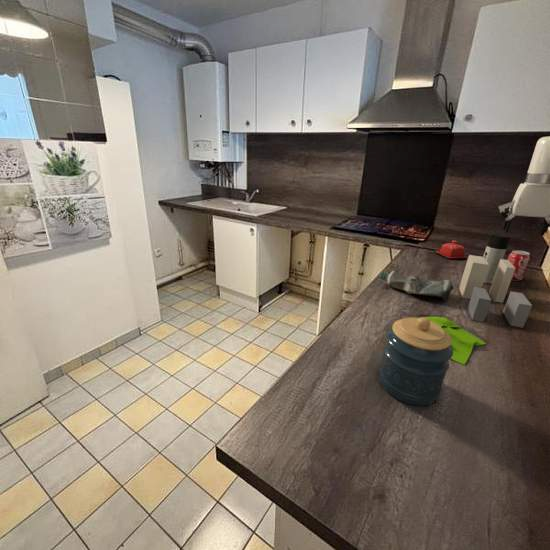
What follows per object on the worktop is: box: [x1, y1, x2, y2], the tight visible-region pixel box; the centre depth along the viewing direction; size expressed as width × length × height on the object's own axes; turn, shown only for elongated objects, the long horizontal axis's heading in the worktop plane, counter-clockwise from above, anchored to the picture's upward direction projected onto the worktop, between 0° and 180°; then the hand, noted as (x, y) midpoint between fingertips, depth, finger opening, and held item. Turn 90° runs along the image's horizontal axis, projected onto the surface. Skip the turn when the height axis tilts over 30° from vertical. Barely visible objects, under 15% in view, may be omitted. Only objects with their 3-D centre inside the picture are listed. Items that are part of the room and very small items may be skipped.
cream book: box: [488, 258, 516, 304], centre depth 105 cm, size 2×9×14 cm, turn 156°
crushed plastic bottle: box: [380, 270, 454, 301], centre depth 110 cm, size 13×7×25 cm
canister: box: [378, 316, 453, 406], centre depth 63 cm, size 13×13×18 cm
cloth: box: [424, 316, 487, 366], centre depth 83 cm, size 20×22×2 cm
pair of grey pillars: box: [467, 287, 533, 329], centre depth 93 cm, size 13×9×8 cm
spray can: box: [482, 232, 512, 285], centre depth 119 cm, size 7×7×20 cm
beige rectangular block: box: [458, 254, 489, 300], centre depth 108 cm, size 5×9×14 cm, turn 156°
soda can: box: [507, 249, 531, 282], centre depth 123 cm, size 7×7×12 cm
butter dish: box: [435, 239, 469, 260], centre depth 150 cm, size 12×12×8 cm
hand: (522, 233), depth 98 cm, fingers open, 9 cm apart
